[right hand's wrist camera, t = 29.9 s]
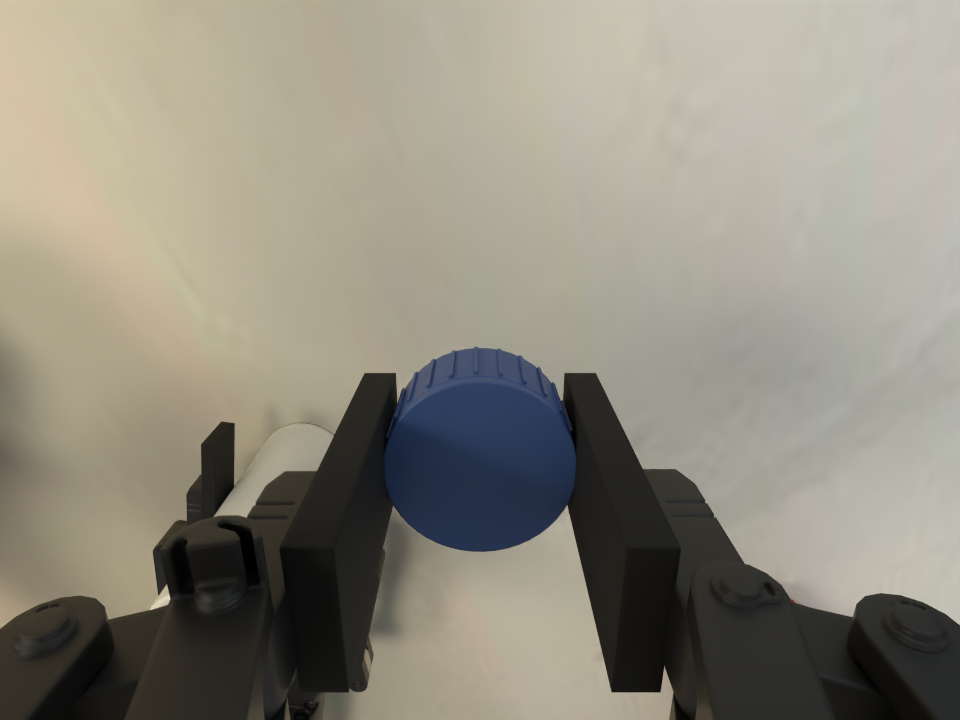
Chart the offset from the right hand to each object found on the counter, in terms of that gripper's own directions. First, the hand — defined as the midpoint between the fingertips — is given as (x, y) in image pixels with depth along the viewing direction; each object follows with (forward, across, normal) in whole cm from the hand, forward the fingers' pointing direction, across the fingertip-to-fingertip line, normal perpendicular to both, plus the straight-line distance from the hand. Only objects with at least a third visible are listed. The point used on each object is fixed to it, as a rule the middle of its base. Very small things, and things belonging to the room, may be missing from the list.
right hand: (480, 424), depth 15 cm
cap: (-2, 0, 0) cm, 2 cm away
